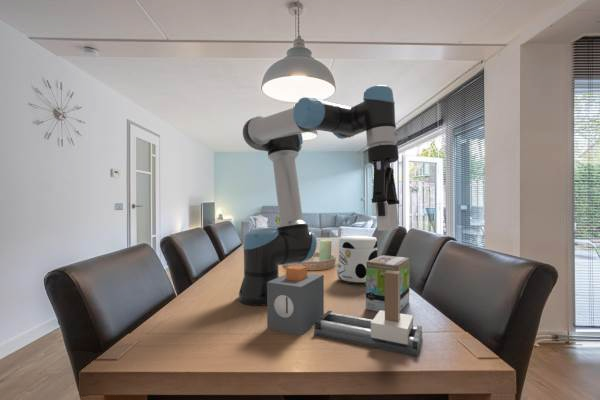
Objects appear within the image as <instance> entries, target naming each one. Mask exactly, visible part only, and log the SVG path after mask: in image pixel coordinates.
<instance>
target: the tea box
mask: <svg viewBox="0 0 600 400" xmlns="http://www.w3.org/2000/svg"><path fill="white" fill-rule="evenodd" d="M410 263H411V262H410V257H404V256H393V255H383V254H382V255H379V256H378V255H377V257H376V258H374V259H372V260H369V261H367V265H366V284H365V310H369V311H373V312H377V313H378V312H379V311H380V310H382V311H385V272H386V271H387V270H391V271H400V312H401V311H402V310H403V308H404V307H405V306H406V305H407V304H408V303H409V302H410V280H411V279H410V278H411V277H410V275H411V274H410V273H411V272H410V268H411V264H410Z"/></svg>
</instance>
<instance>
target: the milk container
mask: <svg viewBox="0 0 600 400" xmlns="http://www.w3.org/2000/svg"><path fill="white" fill-rule="evenodd" d="M376 257H378V239H377V237H375V236H370V235H368V236H367V235H343V236H339V238H338V261H337V264H336V275H337V278H338V279H339V280H340V281H342V282H344V283H348V284H351V285H366V265H367V261H369V260H372V259H374V258H376Z"/></svg>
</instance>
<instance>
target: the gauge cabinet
mask: <svg viewBox="0 0 600 400" xmlns="http://www.w3.org/2000/svg"><path fill="white" fill-rule="evenodd" d="M324 279H325V278H324V274H322V273H321V274H319V273H311V272H307V279H305V280H303V281H293V280H286V273H285V274H283V275H281V276H279V277H278V278H276V279H274V280H271V281H269V282H267V306H266V313H267V316H266V317H267V318H266V319H267V321H266V324H267V325H266V326H267V329H269V330H273V331H278V332H281V333H286V334H292V335H296V336H300V337H302V336H304V334H306V333H307V332H308V331H310V330H311V328H312V326H313V327H315V321H317V320H318V319H319V318H320V317H321V316H323V315H324V314H325V306H324V304H325V301H324V297H325V296H324V295H325V294H324V292H325V291H324V289H325V286H324V285H325V284H324V283H325V282H324V281H325V280H324Z"/></svg>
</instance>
